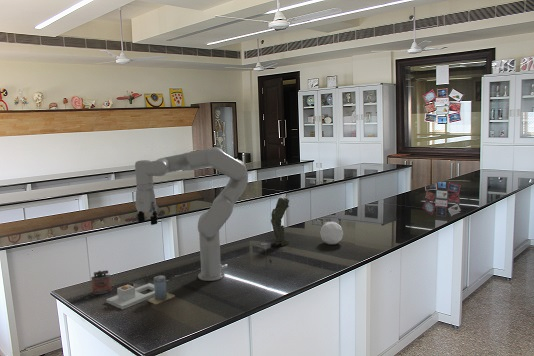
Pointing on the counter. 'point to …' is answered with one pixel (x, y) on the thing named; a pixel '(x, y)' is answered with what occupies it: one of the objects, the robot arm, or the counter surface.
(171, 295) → the pad
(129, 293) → the dock
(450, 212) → the counter surface
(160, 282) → the cylinder
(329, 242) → the geodesic sphere
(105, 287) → the lighter
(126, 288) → the brown egg
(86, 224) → the counter surface
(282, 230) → the mechanical leg
